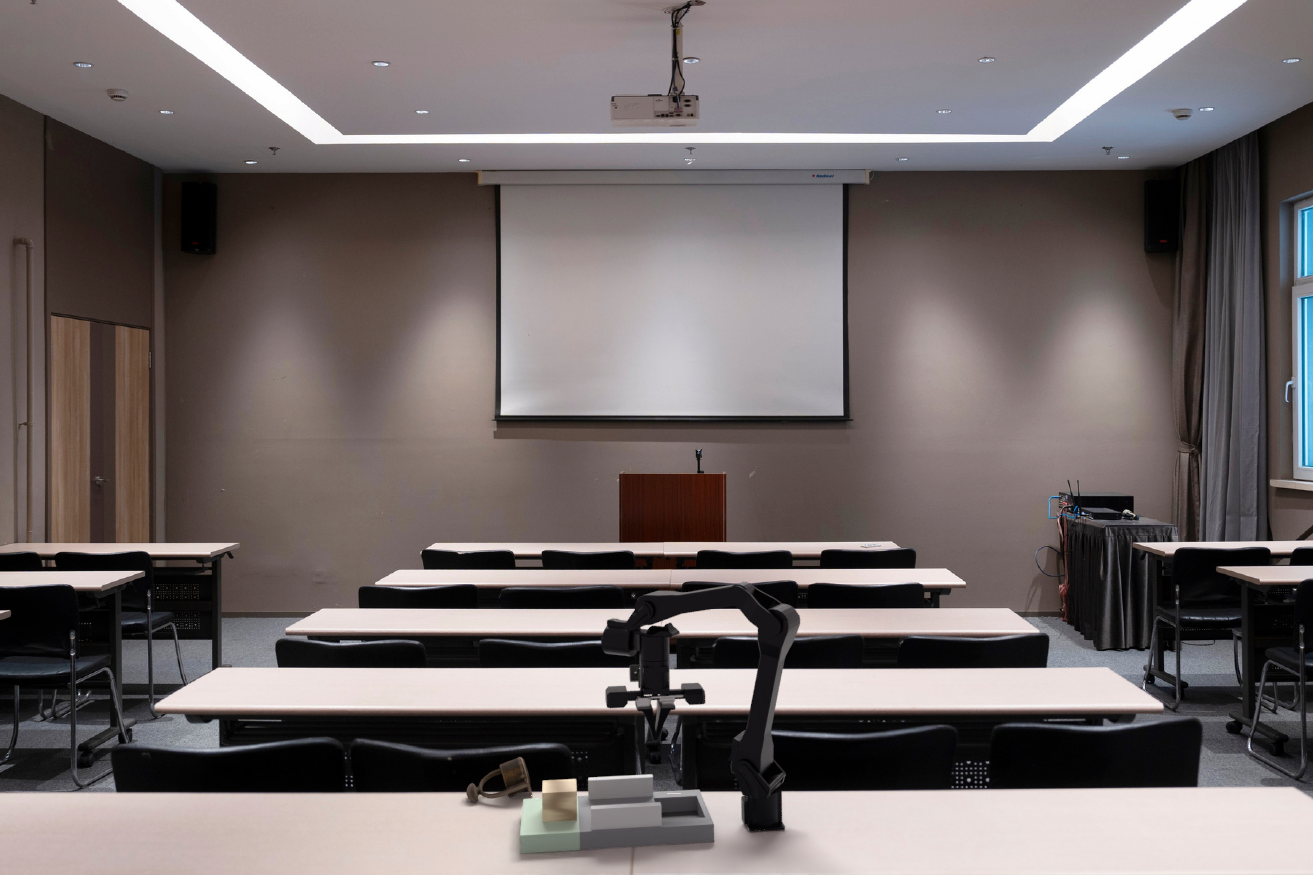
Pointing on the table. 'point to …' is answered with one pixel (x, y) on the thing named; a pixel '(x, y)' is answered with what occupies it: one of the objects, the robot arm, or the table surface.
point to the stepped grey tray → (619, 818)
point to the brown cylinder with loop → (513, 779)
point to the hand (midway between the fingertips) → (655, 740)
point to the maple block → (559, 800)
